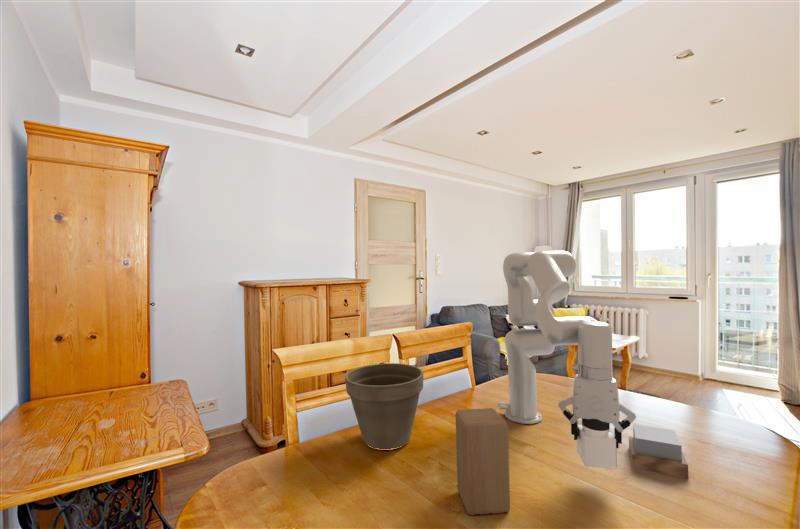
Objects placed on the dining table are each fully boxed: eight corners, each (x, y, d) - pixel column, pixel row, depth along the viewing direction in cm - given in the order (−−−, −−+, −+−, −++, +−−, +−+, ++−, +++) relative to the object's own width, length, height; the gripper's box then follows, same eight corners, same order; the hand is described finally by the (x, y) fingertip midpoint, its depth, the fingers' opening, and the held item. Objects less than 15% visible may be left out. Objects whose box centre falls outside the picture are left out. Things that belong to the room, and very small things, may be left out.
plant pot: (358, 468, 102) (356, 389, 102) (339, 432, 125) (337, 368, 125) (438, 450, 111) (436, 377, 111) (407, 419, 134) (405, 359, 134)
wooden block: (456, 490, 90) (454, 408, 91) (496, 487, 91) (494, 406, 92) (467, 517, 80) (465, 425, 81) (511, 514, 81) (509, 422, 82)
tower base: (632, 469, 99) (632, 454, 99) (629, 449, 109) (628, 436, 109) (688, 480, 93) (688, 464, 93) (679, 458, 104) (678, 444, 104)
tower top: (635, 452, 100) (635, 437, 100) (633, 437, 108) (633, 423, 108) (682, 461, 95) (681, 445, 95) (675, 444, 103) (675, 430, 104)
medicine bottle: (617, 469, 87) (616, 419, 87) (584, 466, 89) (584, 417, 89) (606, 453, 94) (606, 407, 94) (576, 451, 96) (576, 405, 96)
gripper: (555, 371, 92) (556, 440, 92) (638, 381, 84) (638, 457, 84) (558, 363, 99) (559, 428, 99) (635, 372, 90) (635, 442, 91)
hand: (595, 441), depth 91 cm, fingers closed on medicine bottle, 8 cm apart
